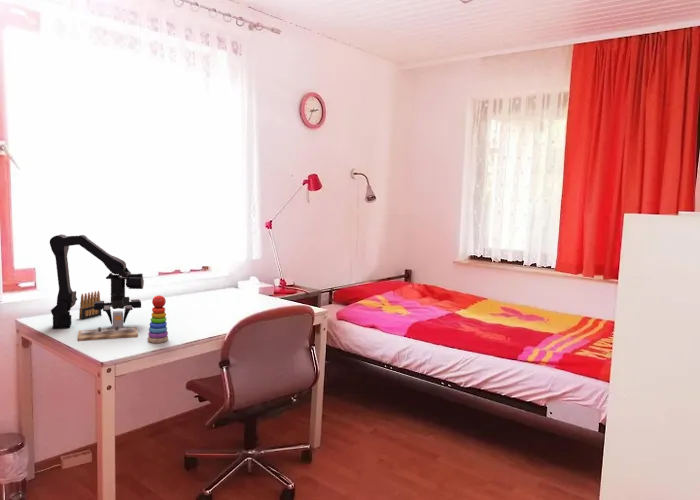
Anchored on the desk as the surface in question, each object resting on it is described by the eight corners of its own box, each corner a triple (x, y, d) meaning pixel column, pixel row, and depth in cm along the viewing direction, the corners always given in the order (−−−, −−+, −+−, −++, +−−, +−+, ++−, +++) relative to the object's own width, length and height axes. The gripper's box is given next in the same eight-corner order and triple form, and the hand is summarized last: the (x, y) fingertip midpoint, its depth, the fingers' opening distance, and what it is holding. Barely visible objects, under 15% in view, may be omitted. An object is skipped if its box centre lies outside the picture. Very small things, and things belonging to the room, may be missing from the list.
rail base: (77, 340, 204) (77, 333, 204) (78, 332, 215) (78, 325, 214) (137, 336, 214) (138, 329, 213) (136, 329, 224) (136, 322, 224)
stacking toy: (143, 342, 206) (143, 296, 204) (154, 337, 214) (154, 292, 212) (161, 344, 205) (162, 298, 203) (171, 339, 213) (172, 294, 211)
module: (113, 328, 223) (113, 314, 223) (112, 324, 230) (112, 311, 229) (123, 328, 225) (123, 314, 224) (122, 324, 231) (122, 310, 231)
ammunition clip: (98, 314, 246) (98, 290, 244) (101, 315, 245) (101, 290, 244) (79, 319, 236) (79, 293, 235) (82, 319, 235) (81, 294, 234)
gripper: (94, 293, 214) (94, 329, 216) (142, 291, 223) (141, 326, 224) (94, 288, 224) (94, 323, 226) (140, 286, 233) (140, 320, 234)
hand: (117, 323), depth 227 cm, fingers open, 5 cm apart
